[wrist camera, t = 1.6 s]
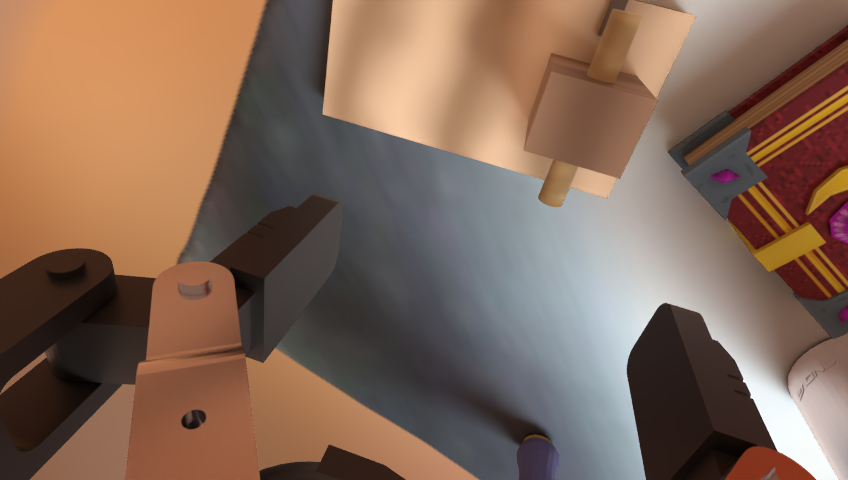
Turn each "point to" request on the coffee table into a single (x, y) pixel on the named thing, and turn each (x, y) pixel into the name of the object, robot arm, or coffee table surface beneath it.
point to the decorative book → (786, 177)
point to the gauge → (589, 111)
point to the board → (478, 69)
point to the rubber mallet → (537, 459)
